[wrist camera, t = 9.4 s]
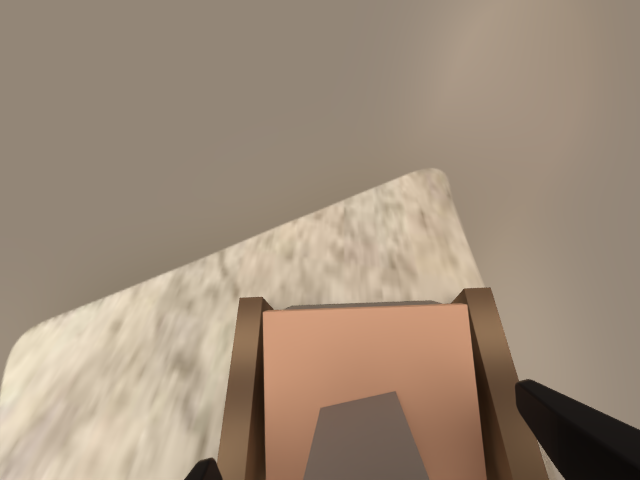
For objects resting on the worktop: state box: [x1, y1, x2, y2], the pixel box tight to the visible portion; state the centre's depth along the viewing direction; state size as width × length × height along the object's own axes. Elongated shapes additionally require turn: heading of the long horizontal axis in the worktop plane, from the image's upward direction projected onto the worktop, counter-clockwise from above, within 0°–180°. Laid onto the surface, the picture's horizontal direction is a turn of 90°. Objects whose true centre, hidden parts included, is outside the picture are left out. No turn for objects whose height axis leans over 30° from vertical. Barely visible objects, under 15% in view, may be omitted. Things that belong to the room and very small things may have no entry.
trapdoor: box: [263, 301, 487, 480], centre depth 19 cm, size 10×12×4 cm
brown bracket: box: [217, 288, 549, 480], centre depth 19 cm, size 12×16×5 cm
